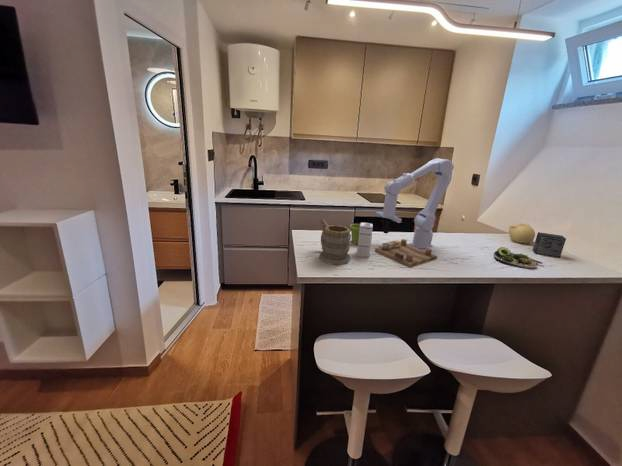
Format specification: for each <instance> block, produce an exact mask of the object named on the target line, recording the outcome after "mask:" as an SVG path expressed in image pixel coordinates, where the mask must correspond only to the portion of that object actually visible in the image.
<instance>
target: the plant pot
mask: <svg viewBox="0 0 622 466" xmlns="http://www.w3.org/2000/svg"><path fill="white" fill-rule="evenodd" d="M349 227H350V234H351V243H352V244H355V245H358V239H359V229H360V223H352V224H351V223H350V225H349Z"/></svg>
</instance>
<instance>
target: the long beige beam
mask: <svg viewBox="0 0 622 466" xmlns="http://www.w3.org/2000/svg"><path fill="white" fill-rule="evenodd" d="M400 246H401V240H398V239H397V240H391V241H388V242H382V243H381V247H382V249H383V250H388V249H392V248H396V247H400Z"/></svg>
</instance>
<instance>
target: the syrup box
mask: <svg viewBox="0 0 622 466" xmlns="http://www.w3.org/2000/svg"><path fill="white" fill-rule="evenodd" d="M359 224H360V229H359V239H358V244H357V252H356V256H357V257H358V256H359V257H363V258H364V257H365V258H369V257H370V256H371V255H370V254H371V246H372V239H373V238H372V237H373V226H374V225H373V223H370V222H360V223H359Z"/></svg>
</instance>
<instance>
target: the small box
mask: <svg viewBox="0 0 622 466" xmlns="http://www.w3.org/2000/svg"><path fill="white" fill-rule="evenodd" d="M534 240H535V241H534V245H533V247H532V250H531V251H533V253H534V254H535V255H539V256H543V257H545V256H546V257H552V258H558V259H560V258H561V256H562V253H563V251H564V247H565V243H566V241H567V238H566V237H565V236H563V235H559V234H553V233H545V232H537V234H536V236H535V239H534Z"/></svg>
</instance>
